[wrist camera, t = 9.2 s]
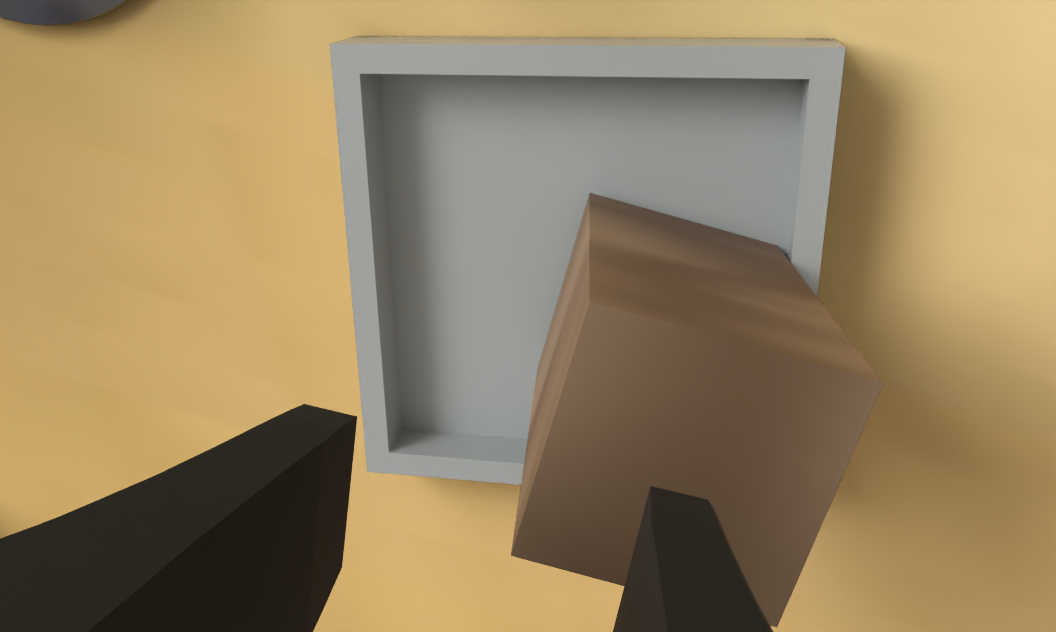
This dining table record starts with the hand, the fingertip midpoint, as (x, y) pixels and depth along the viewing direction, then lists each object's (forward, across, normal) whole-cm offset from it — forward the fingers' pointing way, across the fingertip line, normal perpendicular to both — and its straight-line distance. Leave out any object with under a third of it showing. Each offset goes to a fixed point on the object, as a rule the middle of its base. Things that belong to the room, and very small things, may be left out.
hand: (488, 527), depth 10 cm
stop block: (+8, -2, 0) cm, 8 cm away
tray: (+9, 0, 0) cm, 9 cm away
